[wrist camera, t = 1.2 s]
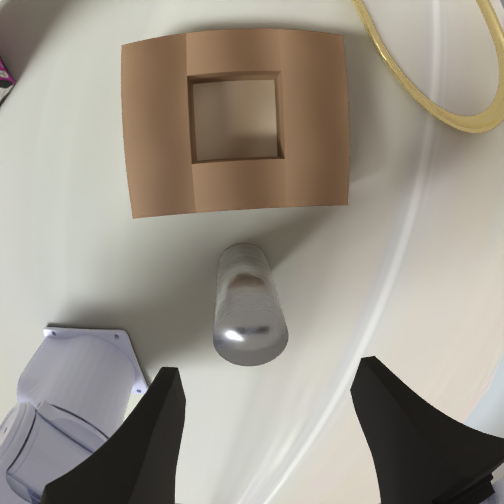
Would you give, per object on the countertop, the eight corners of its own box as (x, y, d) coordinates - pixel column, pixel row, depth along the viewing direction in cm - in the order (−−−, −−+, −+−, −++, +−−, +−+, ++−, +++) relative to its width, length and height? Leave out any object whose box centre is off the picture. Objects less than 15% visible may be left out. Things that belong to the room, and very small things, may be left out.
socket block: (149, 204, 18) (133, 218, 15) (139, 59, 14) (121, 45, 11) (328, 193, 19) (347, 205, 15) (324, 50, 15) (342, 35, 12)
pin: (220, 289, 21) (217, 368, 13) (215, 245, 20) (208, 311, 12) (268, 286, 21) (287, 362, 14) (267, 241, 20) (289, 305, 12)
